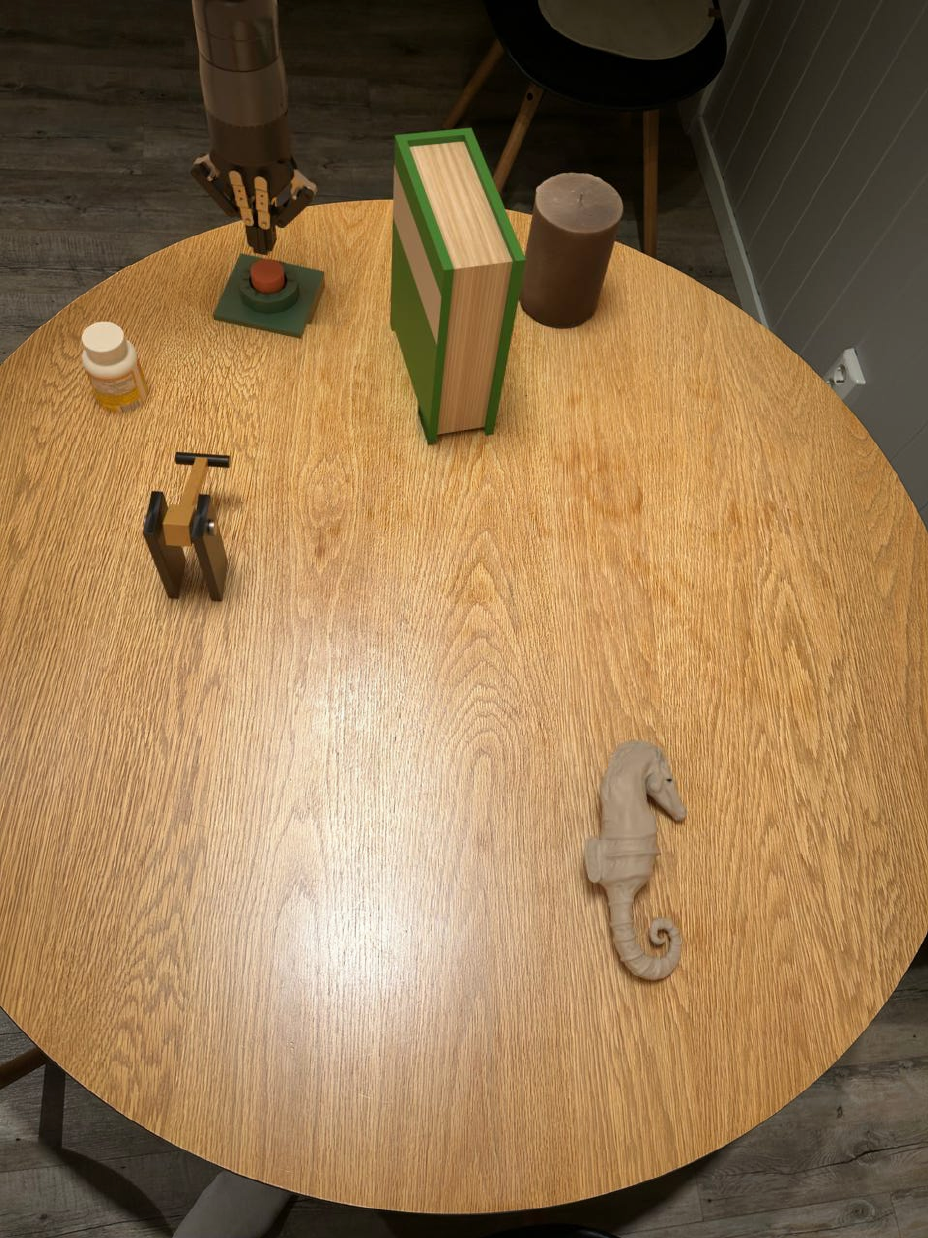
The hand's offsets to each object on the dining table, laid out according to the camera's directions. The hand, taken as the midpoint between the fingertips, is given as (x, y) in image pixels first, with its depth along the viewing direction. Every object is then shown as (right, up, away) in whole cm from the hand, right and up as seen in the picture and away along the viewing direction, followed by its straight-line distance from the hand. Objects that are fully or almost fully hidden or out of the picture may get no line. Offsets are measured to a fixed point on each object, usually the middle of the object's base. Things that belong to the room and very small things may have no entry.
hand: (263, 248), depth 101 cm
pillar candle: (+33, -1, +12) cm, 35 cm away
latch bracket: (-4, -37, -10) cm, 38 cm away
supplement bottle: (-15, -17, 0) cm, 22 cm away
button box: (-1, -4, +7) cm, 8 cm away
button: (0, -2, +4) cm, 5 cm away
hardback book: (+19, -13, +5) cm, 23 cm away
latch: (-3, -29, -15) cm, 33 cm away
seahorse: (+37, -61, -18) cm, 73 cm away
